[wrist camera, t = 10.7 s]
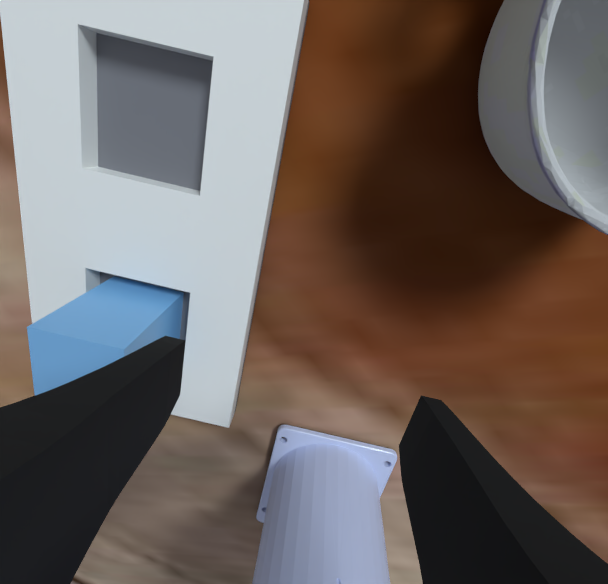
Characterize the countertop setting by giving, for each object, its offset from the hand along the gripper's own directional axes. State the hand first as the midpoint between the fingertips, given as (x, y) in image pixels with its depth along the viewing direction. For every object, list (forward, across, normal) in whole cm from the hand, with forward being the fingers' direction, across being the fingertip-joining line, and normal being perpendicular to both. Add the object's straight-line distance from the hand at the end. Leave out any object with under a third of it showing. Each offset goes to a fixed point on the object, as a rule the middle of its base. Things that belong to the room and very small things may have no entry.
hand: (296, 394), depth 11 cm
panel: (+9, +9, -1) cm, 13 cm away
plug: (+9, +9, +4) cm, 13 cm away
